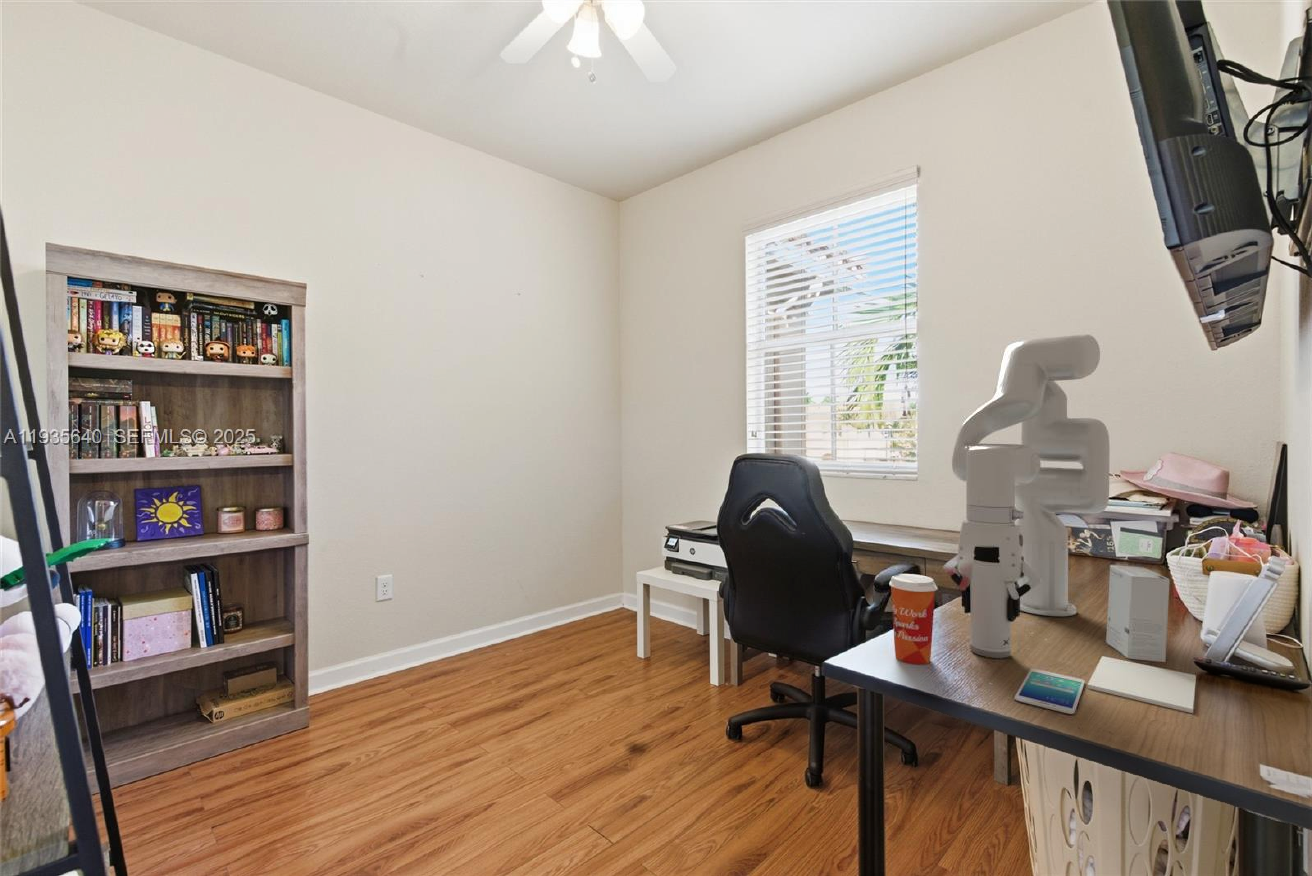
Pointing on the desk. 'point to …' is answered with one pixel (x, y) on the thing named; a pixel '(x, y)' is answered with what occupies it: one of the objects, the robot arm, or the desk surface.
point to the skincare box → (1138, 613)
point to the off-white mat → (1145, 683)
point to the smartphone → (1051, 691)
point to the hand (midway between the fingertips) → (990, 614)
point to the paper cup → (913, 617)
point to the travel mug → (989, 606)
